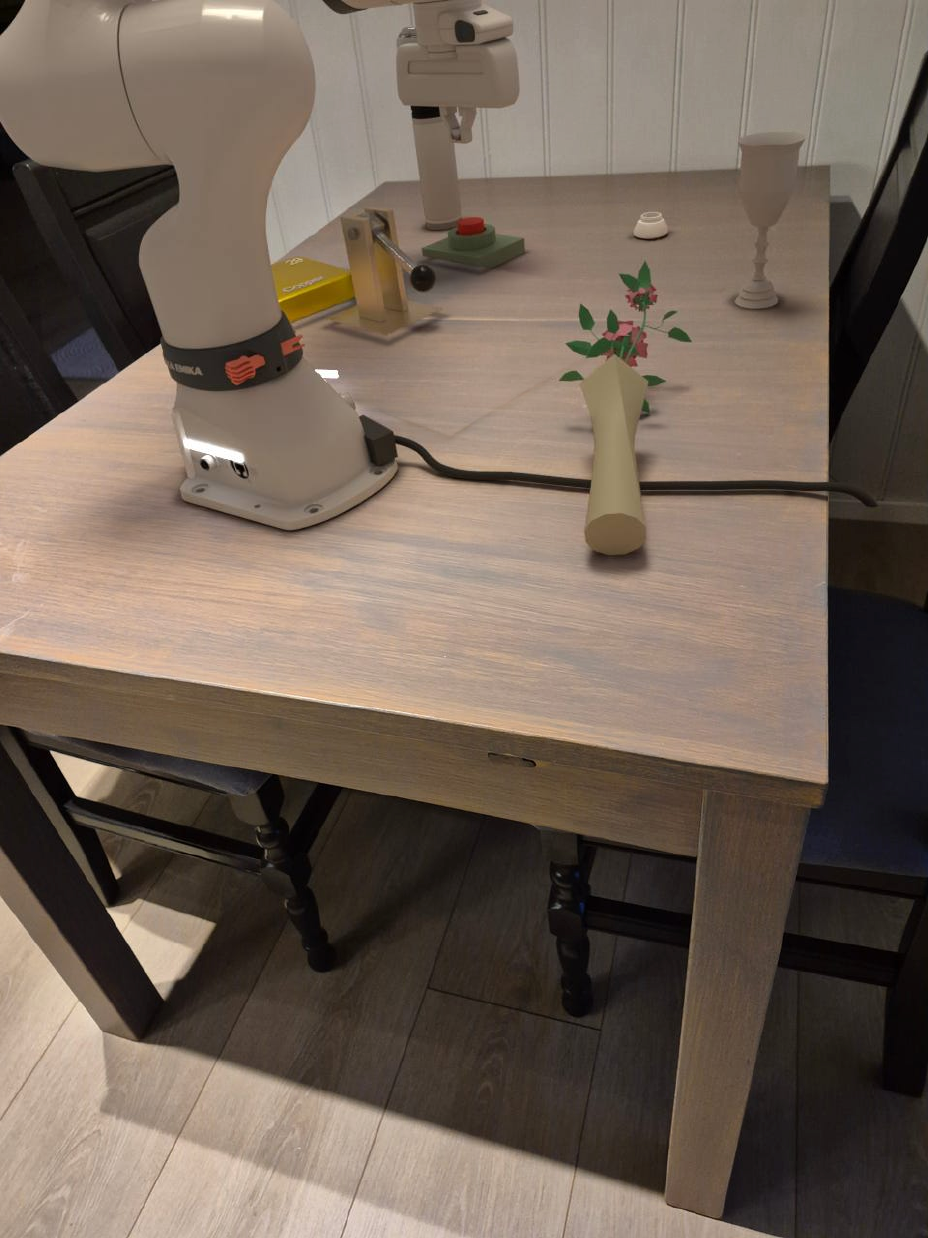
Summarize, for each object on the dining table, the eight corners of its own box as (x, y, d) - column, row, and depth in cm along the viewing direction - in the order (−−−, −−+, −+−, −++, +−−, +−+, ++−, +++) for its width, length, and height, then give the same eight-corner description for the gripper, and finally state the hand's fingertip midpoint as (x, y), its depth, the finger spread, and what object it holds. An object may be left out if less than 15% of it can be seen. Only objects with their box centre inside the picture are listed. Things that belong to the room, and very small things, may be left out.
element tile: (273, 337, 118) (264, 301, 115) (219, 315, 128) (209, 281, 125) (363, 302, 125) (356, 267, 122) (305, 283, 135) (298, 250, 132)
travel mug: (470, 219, 151) (456, 85, 139) (449, 231, 147) (433, 94, 135) (440, 218, 154) (424, 86, 142) (419, 229, 150) (400, 95, 138)
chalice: (797, 296, 109) (817, 132, 98) (770, 315, 105) (787, 147, 94) (743, 287, 113) (756, 130, 102) (715, 305, 110) (725, 144, 98)
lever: (437, 292, 111) (444, 271, 108) (419, 301, 109) (425, 280, 106) (368, 227, 113) (373, 206, 110) (350, 235, 111) (354, 213, 109)
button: (490, 230, 133) (489, 218, 132) (472, 238, 131) (470, 226, 130) (470, 227, 135) (469, 215, 134) (452, 235, 133) (451, 223, 132)
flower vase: (578, 613, 78) (584, 367, 99) (719, 584, 73) (693, 332, 94) (527, 526, 70) (545, 278, 91) (682, 487, 65) (662, 234, 86)
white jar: (650, 242, 131) (674, 233, 133) (650, 221, 129) (675, 212, 131) (626, 236, 135) (651, 228, 136) (626, 216, 133) (651, 207, 135)
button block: (525, 252, 134) (523, 224, 132) (480, 273, 129) (477, 245, 127) (467, 243, 141) (465, 216, 139) (423, 262, 136) (419, 235, 134)
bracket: (443, 316, 117) (428, 205, 109) (388, 343, 112) (368, 229, 103) (382, 302, 124) (364, 197, 116) (328, 327, 119) (305, 218, 110)
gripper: (378, 31, 120) (395, 143, 129) (489, 26, 108) (499, 151, 117) (412, 23, 124) (425, 134, 132) (523, 18, 112) (530, 140, 120)
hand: (461, 142), depth 124 cm, fingers closed
